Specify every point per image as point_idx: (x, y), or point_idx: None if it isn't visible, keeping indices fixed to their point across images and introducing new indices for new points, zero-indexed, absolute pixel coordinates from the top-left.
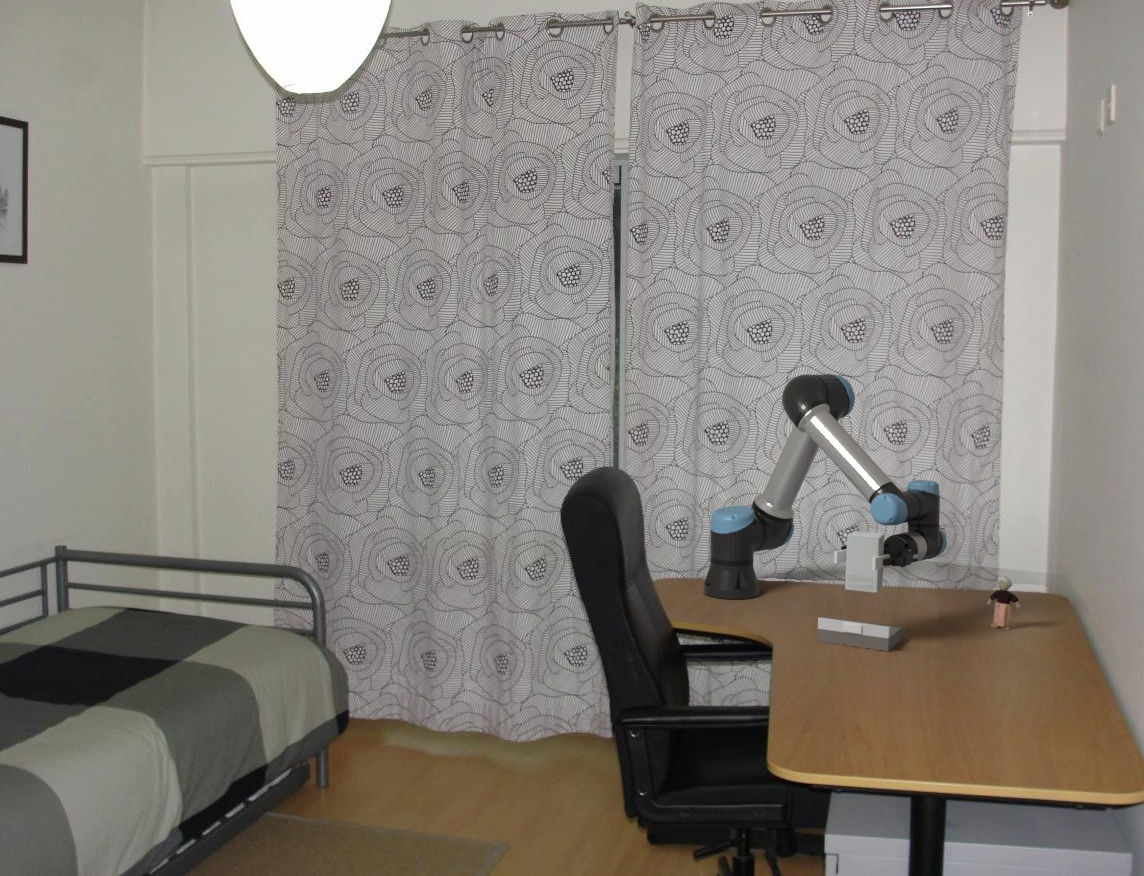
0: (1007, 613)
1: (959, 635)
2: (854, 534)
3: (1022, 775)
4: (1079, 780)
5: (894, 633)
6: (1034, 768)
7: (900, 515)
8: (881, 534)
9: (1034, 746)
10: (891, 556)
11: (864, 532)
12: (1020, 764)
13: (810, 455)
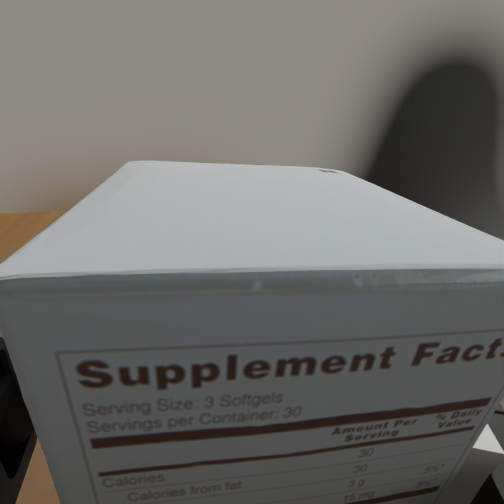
0: None
1: None
2: (330, 176)
3: (44, 216)
4: (2, 218)
5: None
6: (29, 221)
7: None
8: (82, 214)
9: (5, 239)
10: (16, 376)
11: (358, 233)
12: (37, 223)
13: None
